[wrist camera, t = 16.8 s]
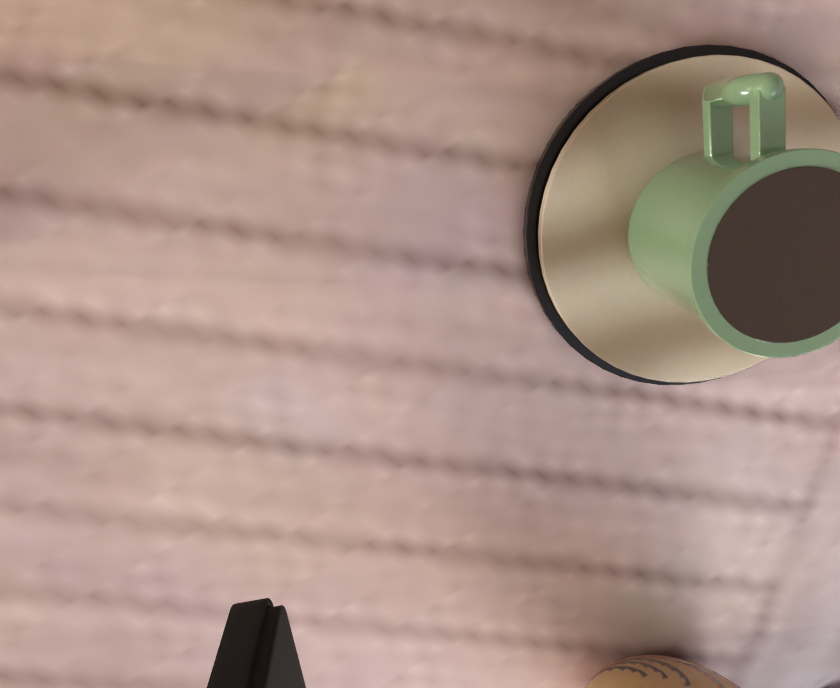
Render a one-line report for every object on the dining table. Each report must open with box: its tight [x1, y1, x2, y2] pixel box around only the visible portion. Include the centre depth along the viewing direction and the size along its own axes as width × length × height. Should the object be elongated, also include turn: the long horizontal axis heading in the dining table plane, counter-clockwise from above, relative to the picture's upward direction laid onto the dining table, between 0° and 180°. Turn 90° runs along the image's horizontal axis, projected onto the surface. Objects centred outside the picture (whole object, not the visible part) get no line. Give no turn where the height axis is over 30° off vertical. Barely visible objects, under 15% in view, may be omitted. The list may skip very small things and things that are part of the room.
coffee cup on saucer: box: [538, 55, 840, 382], centre depth 29 cm, size 15×15×8 cm
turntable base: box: [523, 45, 837, 385], centre depth 34 cm, size 16×16×1 cm
